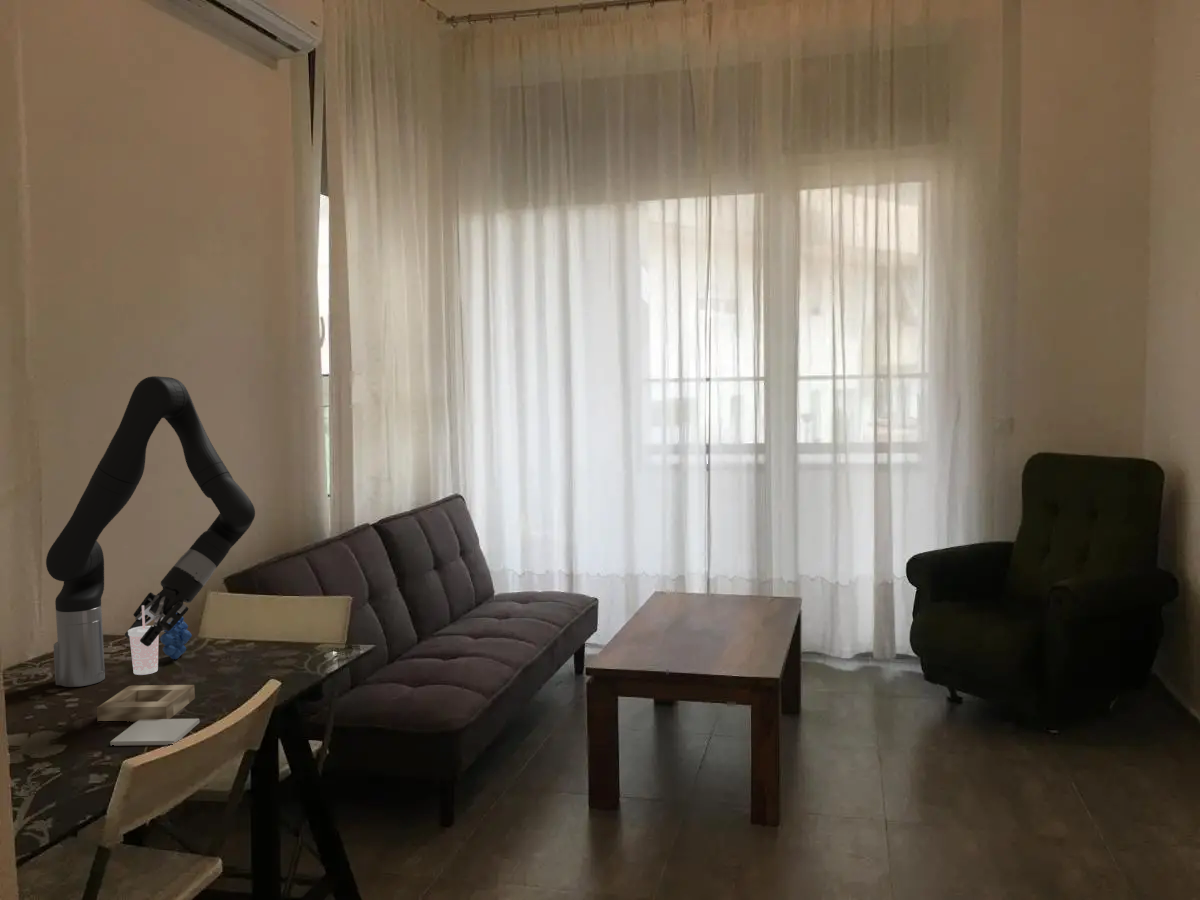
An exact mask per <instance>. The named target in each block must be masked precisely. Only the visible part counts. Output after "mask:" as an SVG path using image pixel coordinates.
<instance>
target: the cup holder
mask: <svg viewBox="0 0 1200 900" xmlns="http://www.w3.org/2000/svg"><path fill="white" fill-rule="evenodd" d="M195 693H196V691H195V684H168V685H167V684H162V685H161V684H160V685H159V684H158V685H157V684H153V685H151V684H150V685H145V684H144V685H140V684H139V685H128V686H126V687H125V688H124V689H122V690H120V691H119V692H118V693H116V694H114V695H113V696H112V697H111V698H109V699H108V700H106V701H105V702H103V703H101V704H100V705H98V706H97V707H96V716H97V717H96V719H97V722H98V721H127V722H128V723H129V721H130V722H133V723H135V722H137V721H138V720H139V719H172V718H173V717H174V716H175V715H177V714H178V713H179V712H180V711H181V710H183V708H185V707H186V706H188V704H189V705H190V703H191V702H193V700H195V699H196V694H195Z"/></svg>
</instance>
